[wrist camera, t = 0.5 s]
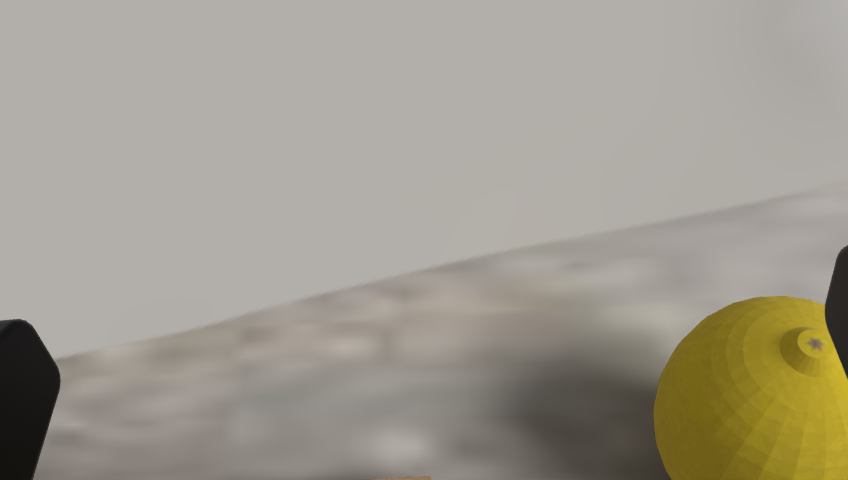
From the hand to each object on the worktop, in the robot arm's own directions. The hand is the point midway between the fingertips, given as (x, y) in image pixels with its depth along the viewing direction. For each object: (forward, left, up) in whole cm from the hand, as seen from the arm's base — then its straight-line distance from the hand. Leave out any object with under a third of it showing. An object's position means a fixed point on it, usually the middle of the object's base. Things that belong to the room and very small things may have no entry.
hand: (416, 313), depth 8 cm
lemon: (+3, -7, -15) cm, 17 cm away
